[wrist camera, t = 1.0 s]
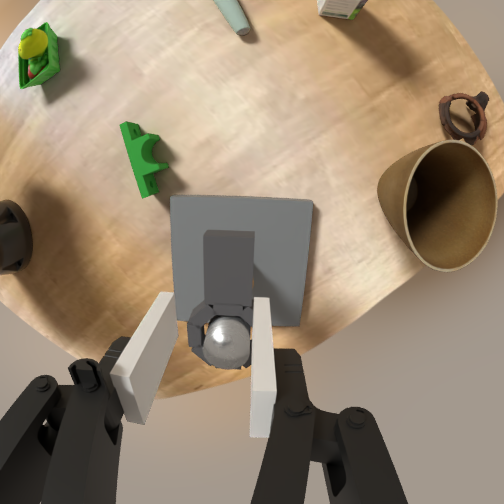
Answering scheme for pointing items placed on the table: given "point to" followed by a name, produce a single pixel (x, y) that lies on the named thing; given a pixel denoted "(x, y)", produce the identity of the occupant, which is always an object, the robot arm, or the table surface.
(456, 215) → the plant pot
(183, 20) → the table surface
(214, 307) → the collar
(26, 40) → the fruit basket
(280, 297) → the pipe stand
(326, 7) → the syrup box
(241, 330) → the pipe
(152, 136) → the pipe clamp
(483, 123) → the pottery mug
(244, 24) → the flashlight
